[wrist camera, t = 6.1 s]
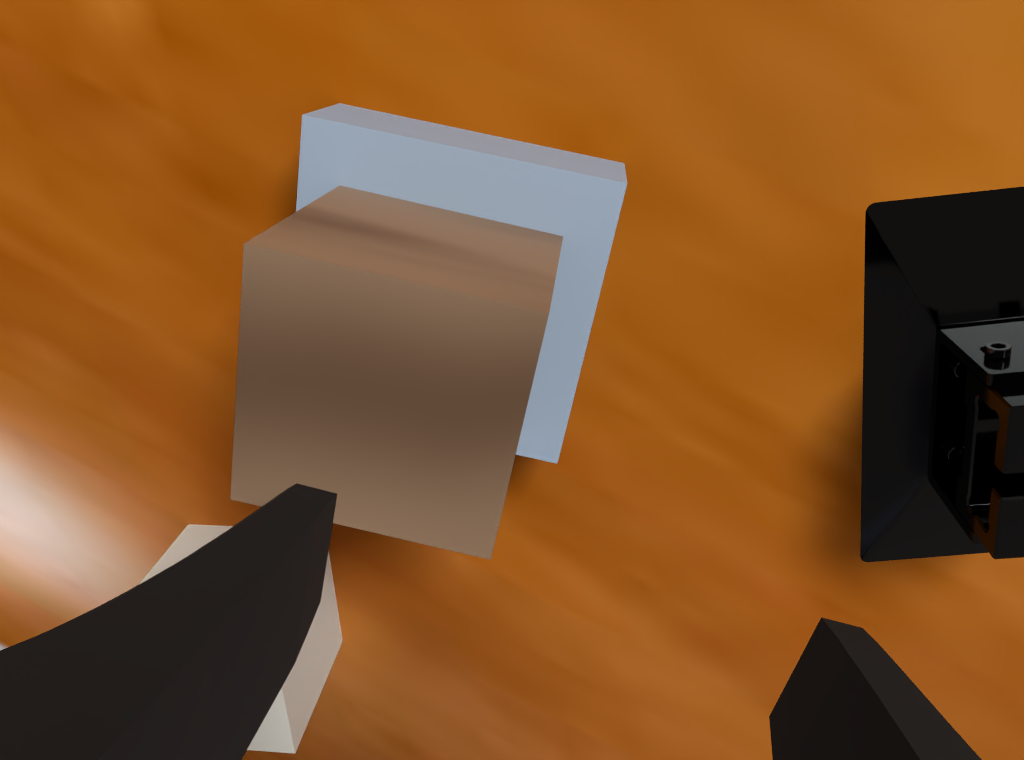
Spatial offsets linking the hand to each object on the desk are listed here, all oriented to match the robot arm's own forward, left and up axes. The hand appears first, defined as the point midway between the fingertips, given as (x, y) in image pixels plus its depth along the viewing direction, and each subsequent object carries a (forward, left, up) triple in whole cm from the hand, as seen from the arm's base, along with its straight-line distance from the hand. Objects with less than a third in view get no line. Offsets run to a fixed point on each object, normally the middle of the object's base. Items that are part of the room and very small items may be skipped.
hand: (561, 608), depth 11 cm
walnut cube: (+1, +4, -8) cm, 9 cm away
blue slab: (+1, +4, -11) cm, 11 cm away
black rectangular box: (+2, -10, -11) cm, 15 cm away
